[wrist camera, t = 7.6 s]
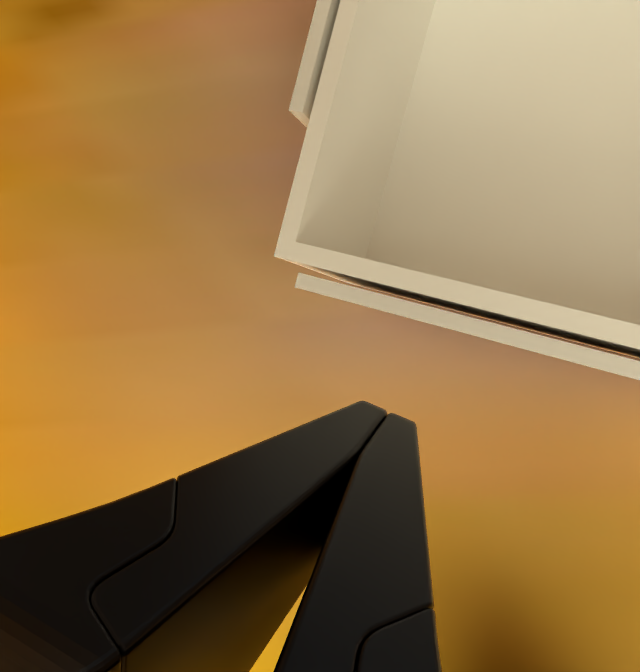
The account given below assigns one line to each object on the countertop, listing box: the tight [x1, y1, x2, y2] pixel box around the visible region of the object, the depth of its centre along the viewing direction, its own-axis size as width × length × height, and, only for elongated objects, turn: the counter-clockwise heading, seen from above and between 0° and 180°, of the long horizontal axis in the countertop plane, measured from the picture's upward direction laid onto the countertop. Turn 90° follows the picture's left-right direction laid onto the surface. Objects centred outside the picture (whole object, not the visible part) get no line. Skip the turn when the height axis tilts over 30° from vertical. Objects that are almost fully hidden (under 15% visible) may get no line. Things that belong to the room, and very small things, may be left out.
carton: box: [274, 0, 640, 380], centre depth 17 cm, size 15×15×7 cm
